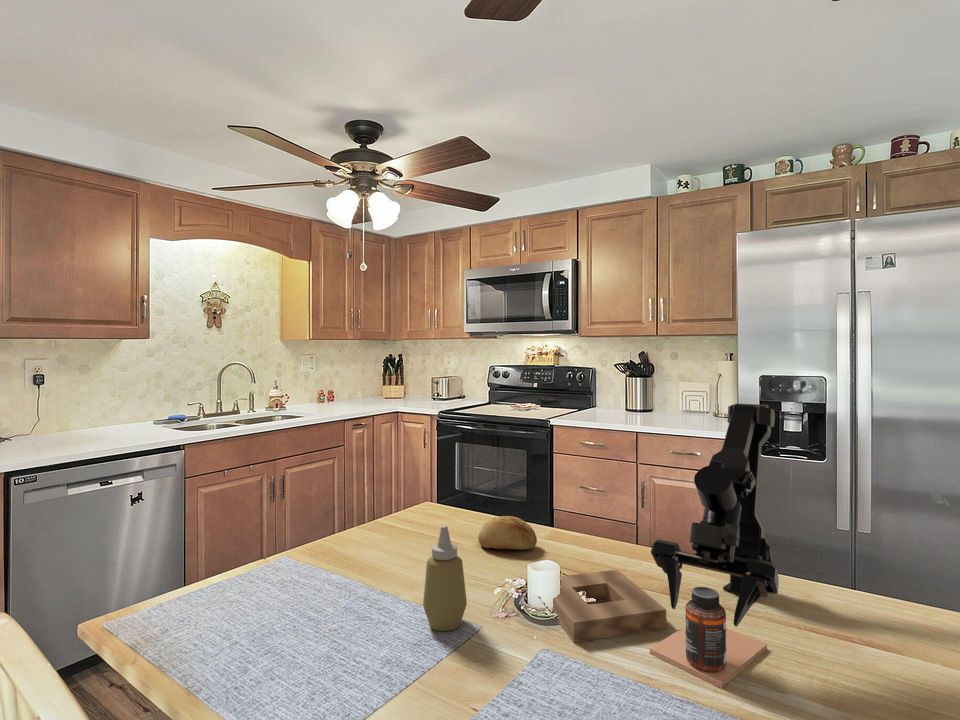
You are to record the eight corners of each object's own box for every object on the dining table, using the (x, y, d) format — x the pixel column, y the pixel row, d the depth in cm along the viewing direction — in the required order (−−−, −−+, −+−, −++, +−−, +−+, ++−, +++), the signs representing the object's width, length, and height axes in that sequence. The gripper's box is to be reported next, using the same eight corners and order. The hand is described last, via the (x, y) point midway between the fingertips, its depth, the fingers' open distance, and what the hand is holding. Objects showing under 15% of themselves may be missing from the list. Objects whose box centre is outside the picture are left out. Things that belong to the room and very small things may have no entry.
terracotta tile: (698, 621, 100) (698, 617, 100) (766, 648, 91) (766, 644, 91) (649, 653, 89) (649, 648, 89) (721, 688, 80) (721, 682, 80)
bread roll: (535, 557, 131) (535, 524, 131) (475, 554, 133) (474, 522, 133) (537, 543, 141) (537, 512, 140) (480, 540, 143) (480, 510, 143)
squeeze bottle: (423, 614, 103) (422, 520, 103) (465, 612, 104) (464, 519, 104) (422, 636, 95) (421, 535, 95) (468, 634, 96) (467, 533, 96)
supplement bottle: (734, 666, 84) (734, 595, 84) (709, 678, 81) (709, 604, 81) (702, 648, 89) (702, 580, 89) (677, 658, 87) (677, 588, 86)
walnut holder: (617, 585, 115) (617, 569, 115) (666, 628, 97) (666, 609, 97) (537, 596, 110) (537, 579, 110) (573, 642, 93) (573, 622, 93)
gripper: (654, 492, 93) (631, 578, 85) (776, 511, 82) (764, 612, 74) (668, 525, 100) (648, 608, 91) (783, 546, 89) (772, 643, 80)
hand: (703, 616), depth 84 cm, fingers open, 9 cm apart
